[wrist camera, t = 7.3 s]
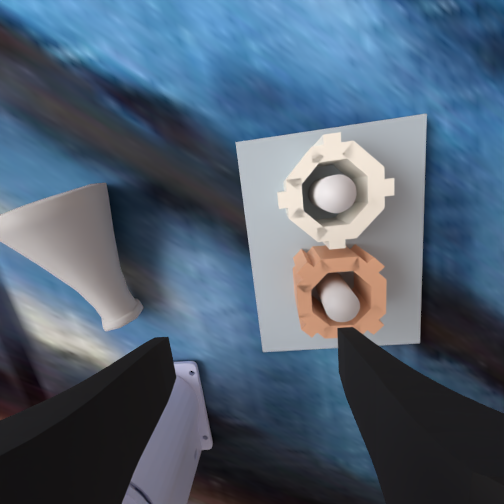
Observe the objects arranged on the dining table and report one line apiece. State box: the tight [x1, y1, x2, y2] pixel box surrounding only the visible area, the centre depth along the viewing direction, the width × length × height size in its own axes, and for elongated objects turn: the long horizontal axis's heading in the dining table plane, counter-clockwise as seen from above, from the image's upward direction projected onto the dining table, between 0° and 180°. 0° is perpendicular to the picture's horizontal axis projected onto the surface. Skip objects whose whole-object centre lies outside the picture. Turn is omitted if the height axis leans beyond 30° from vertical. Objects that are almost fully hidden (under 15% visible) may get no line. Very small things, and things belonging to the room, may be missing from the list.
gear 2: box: [293, 244, 387, 339], centre depth 17 cm, size 5×5×4 cm
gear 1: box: [277, 132, 394, 249], centre depth 16 cm, size 5×5×4 cm
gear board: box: [236, 114, 427, 352], centre depth 17 cm, size 16×12×5 cm
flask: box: [0, 183, 143, 331], centre depth 18 cm, size 7×7×10 cm
